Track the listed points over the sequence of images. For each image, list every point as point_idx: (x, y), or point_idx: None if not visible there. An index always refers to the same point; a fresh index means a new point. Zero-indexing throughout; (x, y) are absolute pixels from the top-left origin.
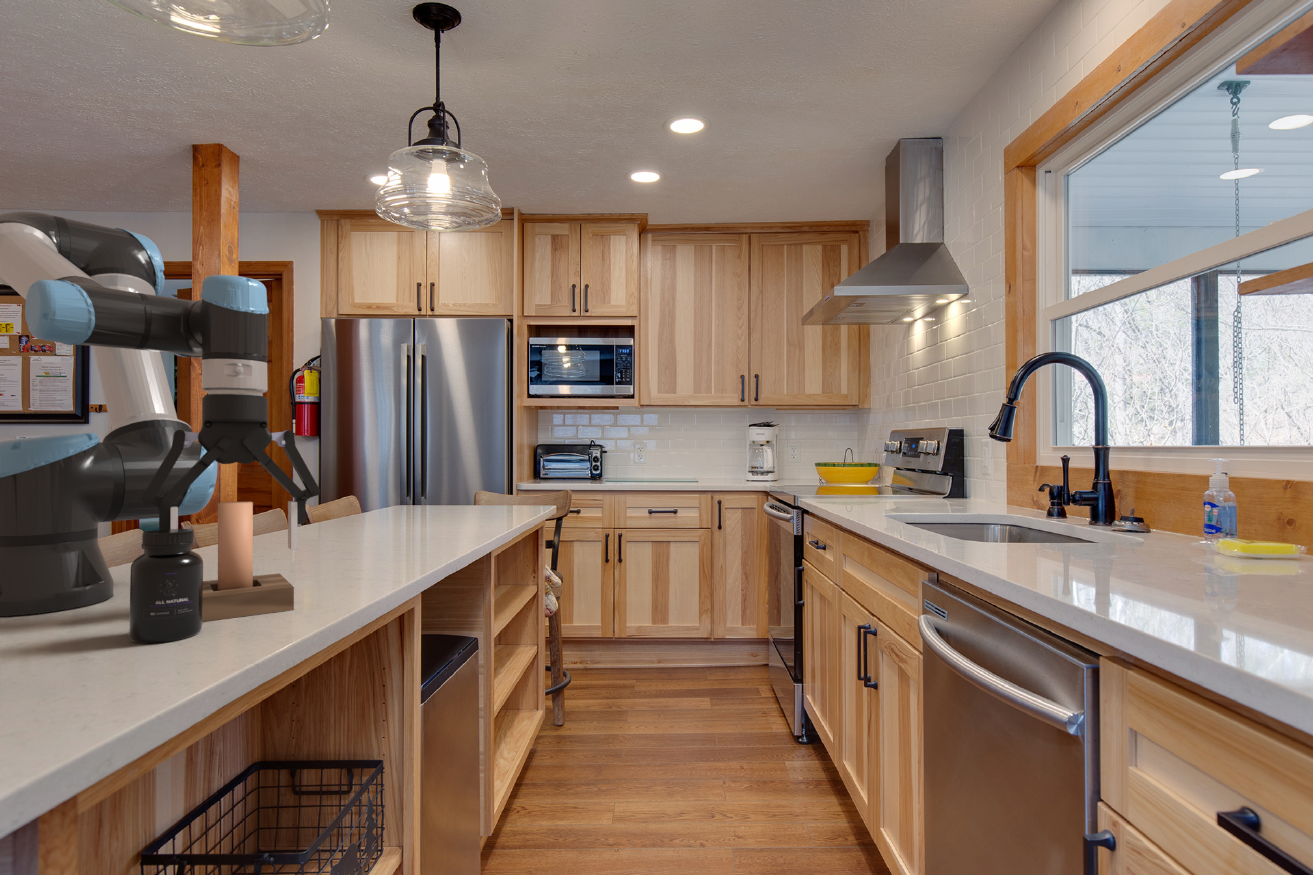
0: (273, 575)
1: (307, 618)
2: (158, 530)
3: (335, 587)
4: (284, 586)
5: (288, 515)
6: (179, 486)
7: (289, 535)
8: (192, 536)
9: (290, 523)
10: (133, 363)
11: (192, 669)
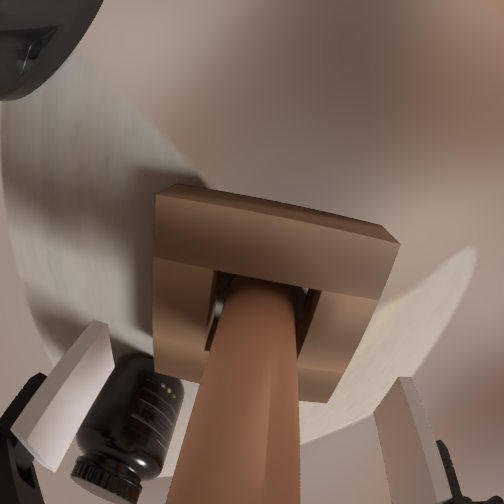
0: (375, 265)
1: (307, 416)
2: (85, 483)
3: (470, 248)
4: (319, 392)
5: (420, 464)
6: None
7: (395, 423)
8: (137, 499)
9: (392, 464)
10: None
11: (172, 455)
